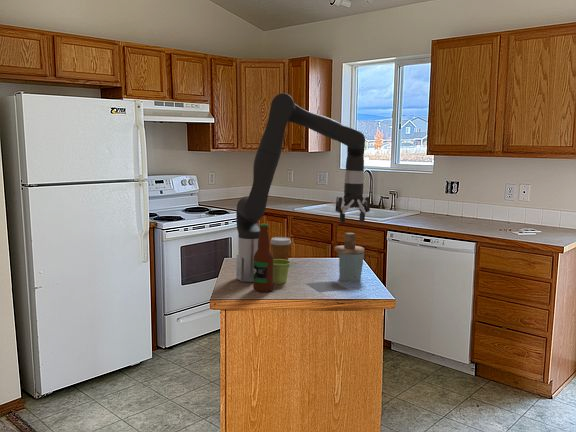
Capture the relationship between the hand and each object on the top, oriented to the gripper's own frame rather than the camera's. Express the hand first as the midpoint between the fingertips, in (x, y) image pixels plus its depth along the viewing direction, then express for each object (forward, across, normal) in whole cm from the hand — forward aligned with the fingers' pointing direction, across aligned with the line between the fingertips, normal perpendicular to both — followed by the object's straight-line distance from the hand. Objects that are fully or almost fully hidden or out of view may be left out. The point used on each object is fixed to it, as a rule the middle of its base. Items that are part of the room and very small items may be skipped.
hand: (352, 222), depth 208 cm
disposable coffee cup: (+24, -17, +33) cm, 44 cm away
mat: (+24, -14, -7) cm, 28 cm away
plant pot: (+24, -29, +5) cm, 38 cm away
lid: (+12, 0, +1) cm, 12 cm away
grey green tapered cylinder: (+24, +1, 0) cm, 24 cm away
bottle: (+24, -38, -2) cm, 45 cm away
